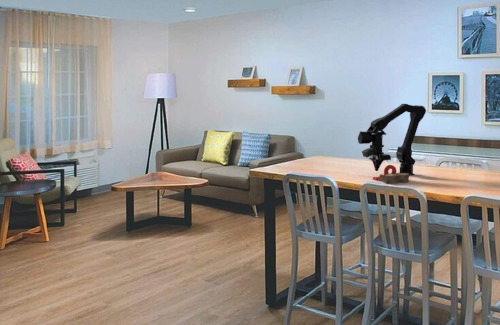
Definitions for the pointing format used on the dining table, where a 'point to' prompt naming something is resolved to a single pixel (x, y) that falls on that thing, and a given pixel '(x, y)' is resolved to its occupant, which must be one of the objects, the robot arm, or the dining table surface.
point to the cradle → (395, 178)
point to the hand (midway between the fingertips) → (376, 170)
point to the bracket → (387, 171)
